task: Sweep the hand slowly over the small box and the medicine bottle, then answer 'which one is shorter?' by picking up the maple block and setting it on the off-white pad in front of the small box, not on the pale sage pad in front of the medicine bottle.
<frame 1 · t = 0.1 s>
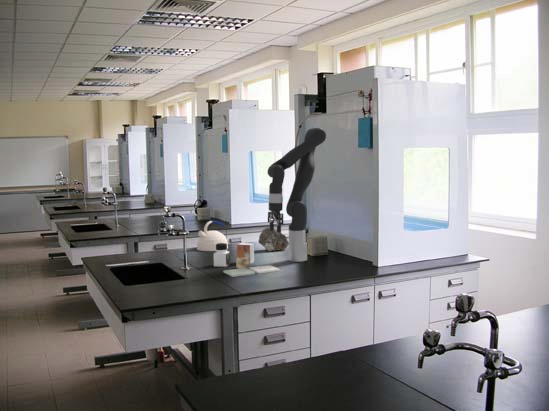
hand: (275, 231, 302), 17 cm above the counter, tool pointing down, fingers open, 8 cm apart
small box: (245, 263, 307), on the counter
rock: (273, 250, 345), on the counter
kettle: (212, 249, 355), on the counter
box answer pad: (264, 270, 285), on the counter
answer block: (242, 267, 293), on the counter
medicine bottle: (222, 265, 300), on the counter
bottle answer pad: (239, 273, 279), on the counter
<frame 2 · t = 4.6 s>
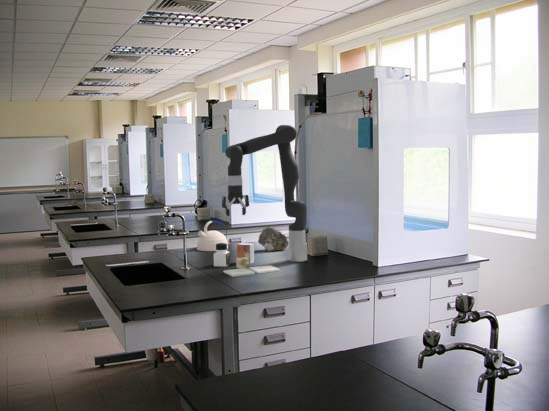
hand: (235, 215, 288), 28 cm above the counter, tool pointing down, fingers open, 8 cm apart
nothing on the counter moved.
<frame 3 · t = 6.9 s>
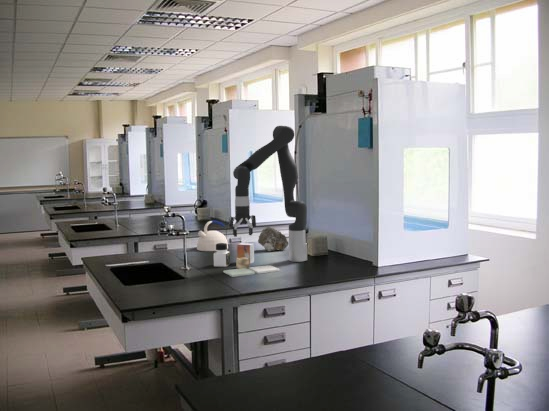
hand: (242, 235, 290), 17 cm above the counter, tool pointing down, fingers open, 8 cm apart
nothing on the counter moved.
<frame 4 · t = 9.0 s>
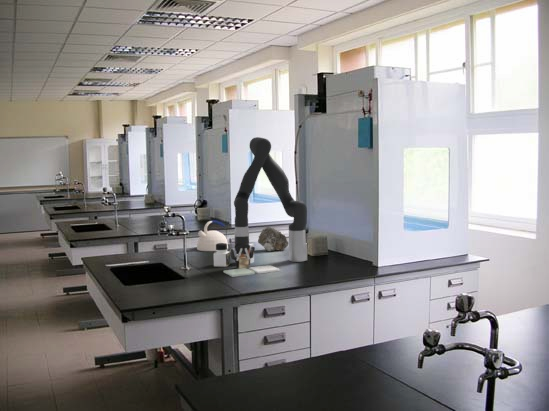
hand: (242, 266, 293), 0 cm above the counter, tool pointing down, fingers closed on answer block, 5 cm apart
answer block: (242, 267, 293), on the counter, touching gripper
everything else where it was.
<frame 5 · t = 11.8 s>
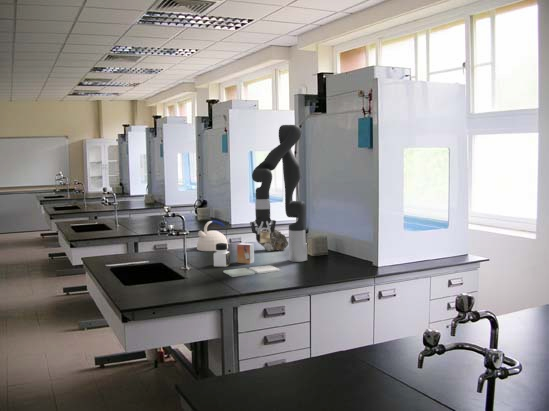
hand: (263, 240, 284), 15 cm above the counter, tool pointing down, fingers closed on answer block, 5 cm apart
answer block: (263, 241, 284), point 15 cm above the counter, touching gripper
everything else where it was.
when the fingers open (3 cm above the counter, at t = 14.9 s): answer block drops 1 cm, resting on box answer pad.
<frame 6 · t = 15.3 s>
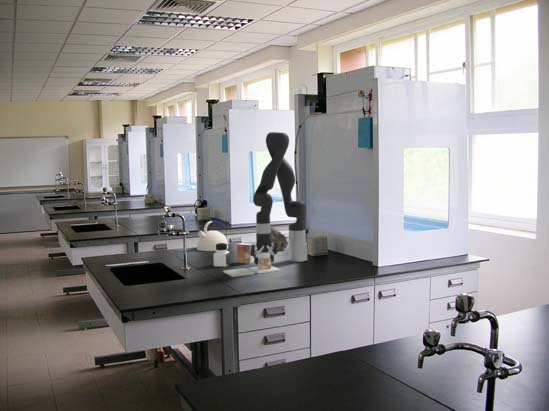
hand: (264, 263, 285), 4 cm above the counter, tool pointing down, fingers open, 8 cm apart
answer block: (264, 268, 285), point 1 cm above the counter, touching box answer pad
everything else where it was.
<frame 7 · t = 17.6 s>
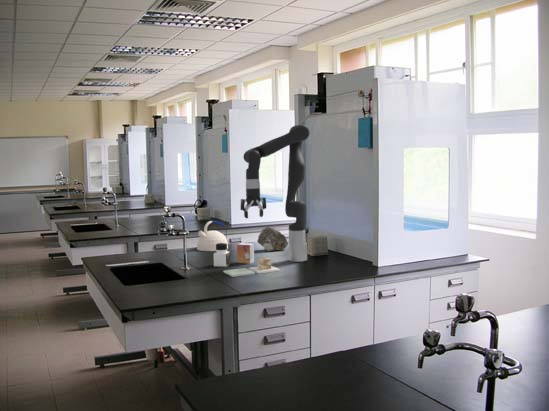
hand: (253, 217, 299), 26 cm above the counter, tool pointing down, fingers open, 8 cm apart
nothing on the counter moved.
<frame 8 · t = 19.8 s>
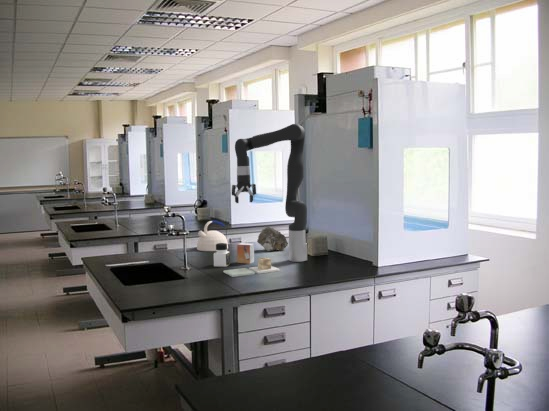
hand: (244, 202, 317), 32 cm above the counter, tool pointing down, fingers open, 8 cm apart
nothing on the counter moved.
at the end: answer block inside the target area on the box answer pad (0.1 cm from its centre), point 1.0 cm above the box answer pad's base; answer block tilted 0°; the gripper is holding nothing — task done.
